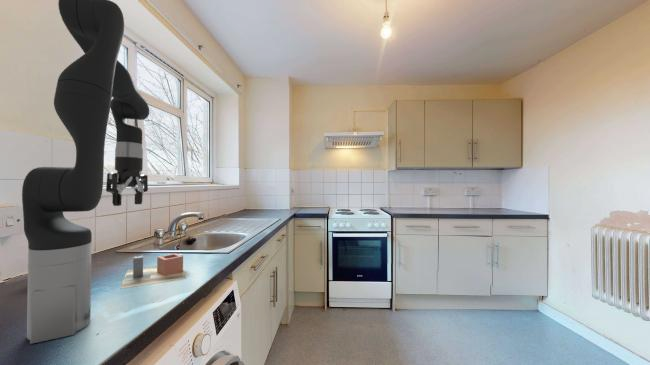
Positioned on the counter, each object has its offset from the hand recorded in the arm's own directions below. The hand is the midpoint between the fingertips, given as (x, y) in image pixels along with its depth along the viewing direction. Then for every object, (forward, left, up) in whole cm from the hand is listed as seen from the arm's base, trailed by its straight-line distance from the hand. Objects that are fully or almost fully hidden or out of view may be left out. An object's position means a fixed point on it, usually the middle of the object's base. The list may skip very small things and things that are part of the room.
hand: (128, 204), depth 89 cm
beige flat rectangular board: (-11, -8, -23) cm, 26 cm away
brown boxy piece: (-11, -12, -21) cm, 27 cm away
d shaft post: (-11, -4, -23) cm, 25 cm away
